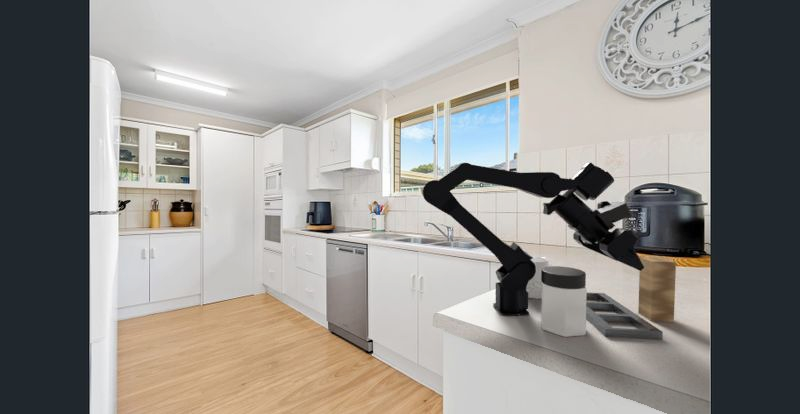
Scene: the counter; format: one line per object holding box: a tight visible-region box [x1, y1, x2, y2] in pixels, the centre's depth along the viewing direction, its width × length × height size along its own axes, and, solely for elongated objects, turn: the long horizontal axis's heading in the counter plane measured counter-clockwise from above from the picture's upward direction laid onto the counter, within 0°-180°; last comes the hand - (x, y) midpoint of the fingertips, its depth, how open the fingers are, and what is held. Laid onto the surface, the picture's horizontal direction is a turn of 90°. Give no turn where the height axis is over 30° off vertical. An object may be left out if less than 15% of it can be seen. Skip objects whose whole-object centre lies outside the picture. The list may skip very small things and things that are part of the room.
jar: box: [540, 265, 588, 338], centre depth 65 cm, size 9×8×12 cm
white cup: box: [526, 255, 549, 299], centre depth 86 cm, size 8×8×10 cm
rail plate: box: [586, 292, 664, 341], centre depth 72 cm, size 10×23×2 cm, turn 171°
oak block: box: [637, 256, 677, 323], centre depth 70 cm, size 4×4×13 cm
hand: (629, 264), depth 71 cm, fingers open, 9 cm apart
